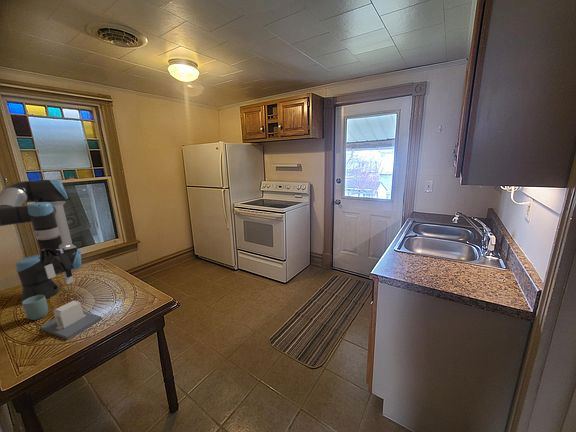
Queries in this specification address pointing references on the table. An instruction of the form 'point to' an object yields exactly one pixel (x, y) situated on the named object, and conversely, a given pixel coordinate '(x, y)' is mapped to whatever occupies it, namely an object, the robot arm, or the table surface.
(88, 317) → the board
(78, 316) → the housing
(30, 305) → the cup
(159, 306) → the table surface
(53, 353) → the table surface
